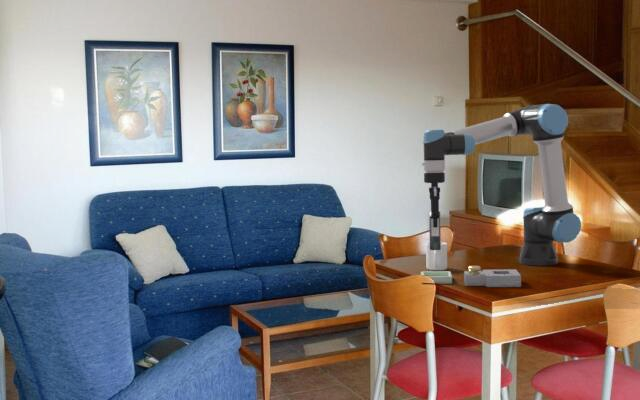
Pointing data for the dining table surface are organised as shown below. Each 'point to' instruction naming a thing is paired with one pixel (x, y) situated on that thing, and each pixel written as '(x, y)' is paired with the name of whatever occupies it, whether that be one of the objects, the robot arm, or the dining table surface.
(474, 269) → the brass knob
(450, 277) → the tray
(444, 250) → the mug
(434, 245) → the gray rectangular peg
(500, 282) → the socket block
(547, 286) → the dining table surface
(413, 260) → the dining table surface
